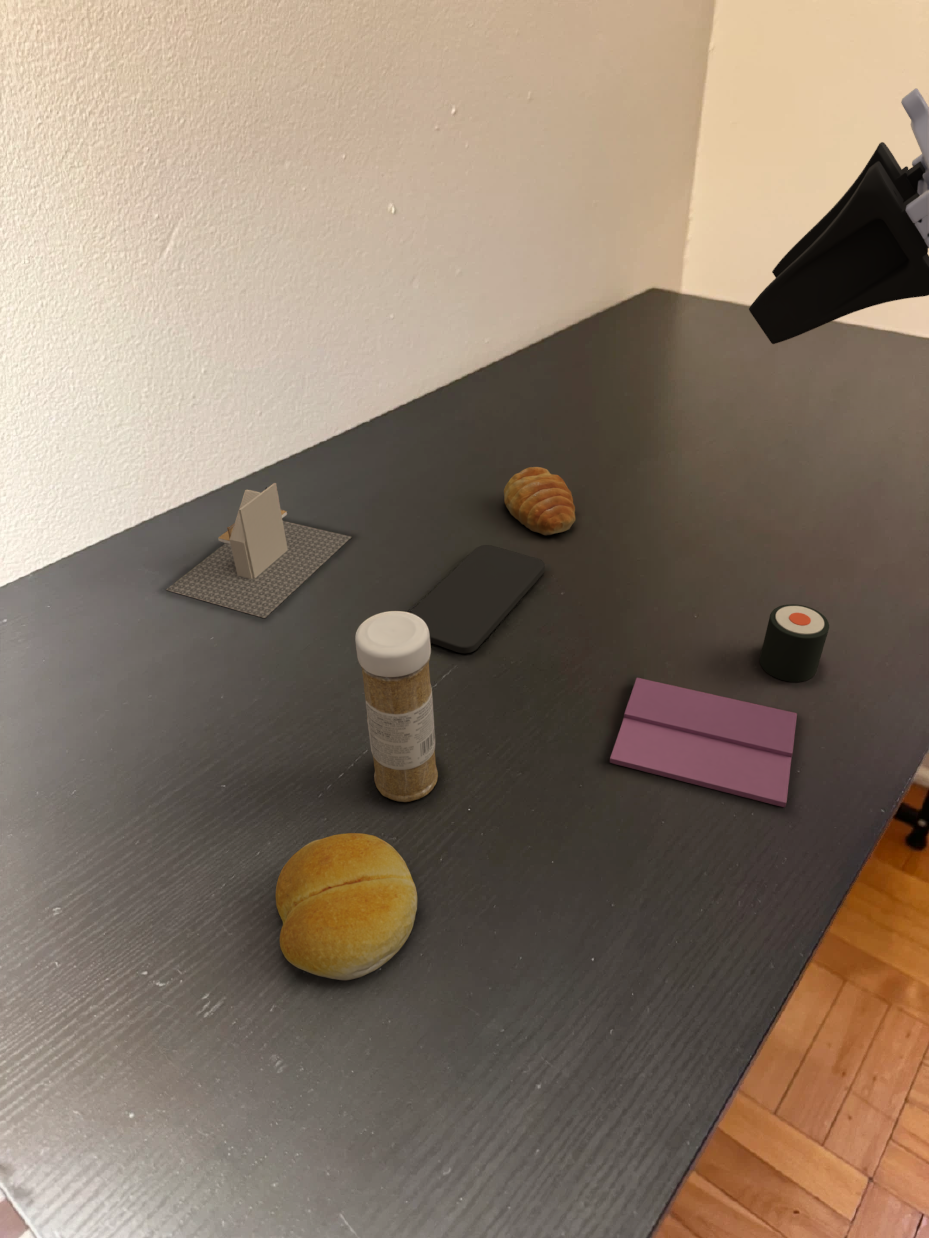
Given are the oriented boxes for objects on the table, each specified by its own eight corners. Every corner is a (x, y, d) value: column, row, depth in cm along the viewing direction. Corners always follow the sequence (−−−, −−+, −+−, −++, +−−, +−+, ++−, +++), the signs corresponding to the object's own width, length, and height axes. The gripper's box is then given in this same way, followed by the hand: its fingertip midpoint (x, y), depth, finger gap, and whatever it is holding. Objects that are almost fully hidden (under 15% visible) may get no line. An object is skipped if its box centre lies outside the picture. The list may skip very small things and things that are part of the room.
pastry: (591, 532, 85) (593, 499, 83) (529, 545, 84) (529, 512, 82) (554, 490, 93) (555, 459, 90) (497, 502, 91) (496, 470, 89)
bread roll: (288, 1003, 47) (276, 963, 44) (275, 872, 53) (264, 831, 51) (434, 965, 48) (430, 924, 46) (402, 842, 55) (397, 802, 53)
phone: (395, 624, 72) (481, 541, 83) (396, 632, 73) (481, 549, 83) (470, 650, 69) (549, 561, 80) (470, 658, 70) (549, 568, 80)
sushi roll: (817, 654, 69) (831, 608, 66) (814, 687, 66) (828, 641, 63) (762, 642, 71) (773, 597, 68) (756, 675, 67) (767, 629, 65)
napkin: (794, 719, 63) (797, 711, 63) (785, 807, 57) (787, 798, 56) (636, 684, 67) (637, 675, 66) (609, 762, 60) (610, 754, 60)
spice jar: (402, 747, 62) (388, 599, 54) (451, 774, 60) (444, 624, 52) (360, 786, 59) (338, 635, 51) (410, 816, 57) (395, 663, 49)
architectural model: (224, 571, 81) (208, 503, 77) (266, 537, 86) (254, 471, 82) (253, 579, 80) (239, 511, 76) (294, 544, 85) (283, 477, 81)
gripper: (1016, 0, 38) (751, 211, 47) (1050, -7, 27) (696, 269, 36) (1093, 136, 39) (820, 316, 48) (1154, 181, 28) (788, 403, 37)
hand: (772, 304), depth 42 cm, fingers open, 7 cm apart
